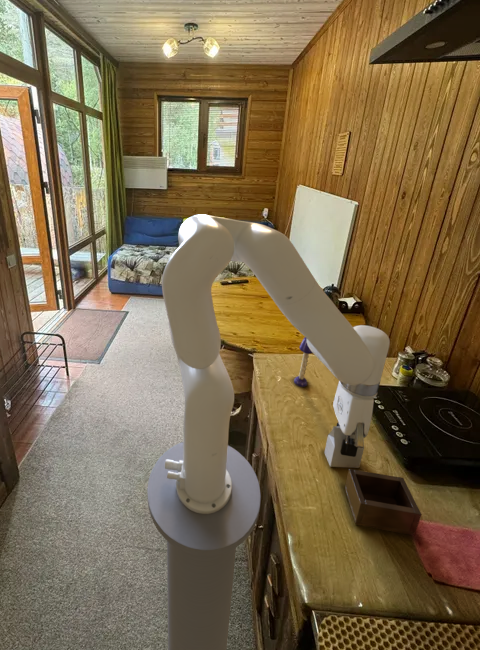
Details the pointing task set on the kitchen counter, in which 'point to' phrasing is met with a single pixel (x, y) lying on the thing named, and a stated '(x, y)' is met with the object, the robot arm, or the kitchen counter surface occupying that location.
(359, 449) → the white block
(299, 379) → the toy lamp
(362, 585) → the kitchen counter surface
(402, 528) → the box
